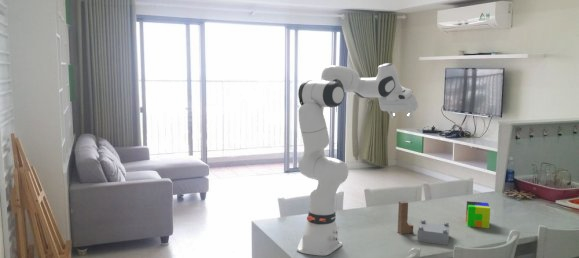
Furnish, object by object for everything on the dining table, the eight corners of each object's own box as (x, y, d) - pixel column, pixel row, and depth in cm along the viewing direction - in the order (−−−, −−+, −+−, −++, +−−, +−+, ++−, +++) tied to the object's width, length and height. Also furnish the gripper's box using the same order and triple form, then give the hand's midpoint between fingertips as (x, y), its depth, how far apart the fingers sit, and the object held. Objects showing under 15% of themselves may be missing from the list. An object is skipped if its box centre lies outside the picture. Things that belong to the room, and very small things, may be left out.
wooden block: (400, 234, 226) (402, 203, 224) (397, 231, 229) (398, 201, 227) (413, 233, 228) (414, 202, 226) (409, 230, 231) (411, 200, 229)
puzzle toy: (486, 221, 246) (487, 202, 244) (489, 228, 236) (490, 208, 235) (465, 220, 248) (466, 201, 247) (467, 226, 239) (468, 206, 237)
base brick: (447, 244, 213) (448, 231, 212) (417, 240, 217) (417, 227, 216) (448, 235, 225) (449, 222, 224) (420, 231, 229) (420, 219, 228)
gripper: (373, 97, 243) (381, 120, 248) (409, 96, 228) (416, 121, 234) (379, 91, 247) (387, 114, 252) (415, 89, 232) (422, 114, 237)
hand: (401, 117), depth 243 cm, fingers open, 8 cm apart
